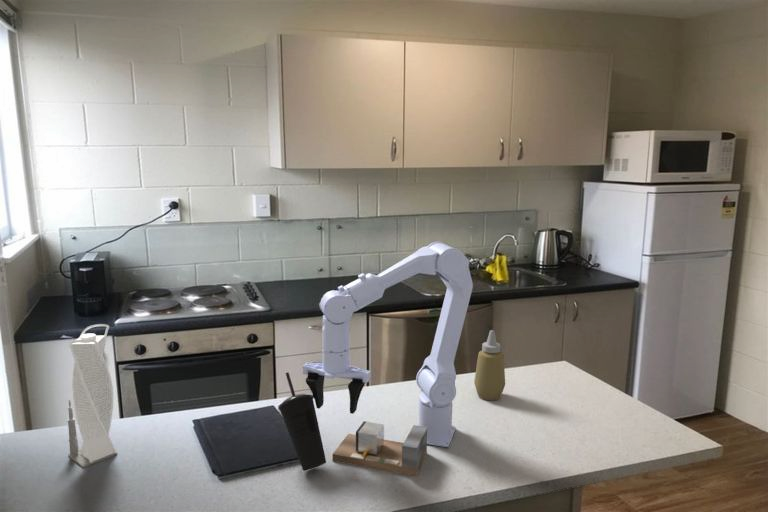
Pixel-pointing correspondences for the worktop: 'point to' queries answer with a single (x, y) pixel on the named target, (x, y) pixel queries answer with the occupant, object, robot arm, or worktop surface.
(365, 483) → the worktop surface
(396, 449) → the gauge board
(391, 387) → the worktop surface
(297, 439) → the drinking cup
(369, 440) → the gauge carriage
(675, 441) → the worktop surface
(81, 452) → the skyscraper
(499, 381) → the squeeze bottle
